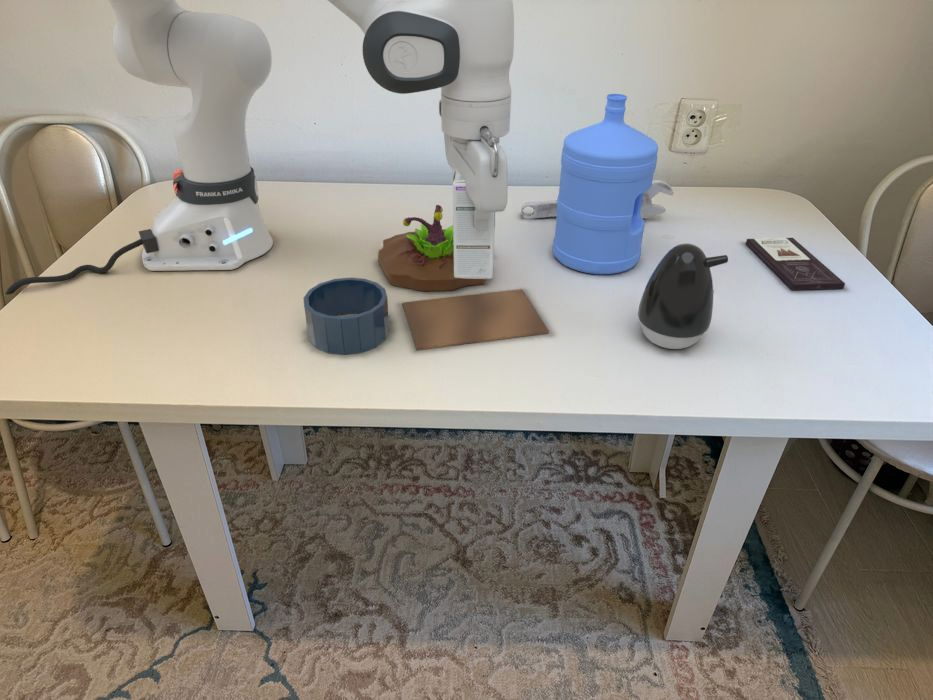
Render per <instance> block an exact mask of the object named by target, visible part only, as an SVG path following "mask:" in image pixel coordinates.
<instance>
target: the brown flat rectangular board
mask: <svg viewBox="0 0 933 700" xmlns="http://www.w3.org/2000/svg"><path fill="white" fill-rule="evenodd" d="M401 306H402V308H403V312H404V314H405V317H406V321H407V324H408V326H409V330H410V333H411V335H412V339H413V342H414V346H415V348H416V351H421V350H429V349H436V348H445V347H452V346H453V347H454V346H460V345H469V344H476V343H483V342H491V341H498V340H500V341H501V340H506V339H514V338H515V339H516V338H521V337H522V338H523V337H530V336H537V335H538V336H539V335H547V334H550V333H549V328H548V327H547V325H546V324H545V323H544V321H543V319H542V317H541V316H540V315H539V313H538V311H537V310H536V308H535V307H534V305H533V303H532V302H531V301H530V299H529V297H528V296H527V295H526V292H525V291H524V289H522V288H520V289H510V290H502V291H494V292H493V291H492V292H485V293H476V294H466V295H457V296H448V297H440V298H431V299H423V300H413V301H406V302H405V301H404V302H402V305H401Z"/></svg>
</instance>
